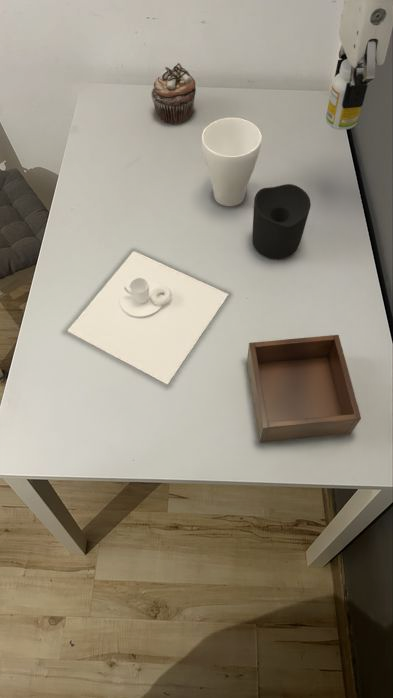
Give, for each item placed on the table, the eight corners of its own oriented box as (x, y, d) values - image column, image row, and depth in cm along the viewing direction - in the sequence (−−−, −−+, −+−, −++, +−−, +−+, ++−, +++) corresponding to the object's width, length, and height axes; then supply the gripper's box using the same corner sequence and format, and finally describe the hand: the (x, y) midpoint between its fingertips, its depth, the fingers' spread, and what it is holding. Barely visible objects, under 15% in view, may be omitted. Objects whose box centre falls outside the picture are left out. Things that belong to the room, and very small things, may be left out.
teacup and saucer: (177, 293, 87) (176, 279, 84) (152, 327, 84) (150, 314, 80) (136, 274, 89) (132, 259, 86) (110, 306, 86) (106, 292, 83)
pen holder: (288, 269, 89) (296, 230, 80) (241, 250, 92) (244, 210, 83) (309, 234, 93) (319, 193, 84) (263, 217, 96) (268, 175, 87)
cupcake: (177, 94, 115) (175, 50, 106) (204, 114, 111) (204, 70, 102) (144, 111, 112) (139, 67, 103) (171, 132, 108) (167, 89, 100)
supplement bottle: (362, 116, 86) (377, 60, 78) (349, 134, 84) (363, 78, 76) (333, 107, 88) (345, 51, 79) (320, 124, 86) (330, 68, 77)
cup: (264, 205, 97) (272, 147, 85) (215, 221, 95) (215, 163, 84) (242, 171, 102) (246, 111, 90) (194, 185, 100) (192, 126, 88)
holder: (330, 354, 80) (338, 334, 75) (350, 434, 74) (361, 418, 68) (246, 361, 80) (249, 342, 75) (259, 442, 74) (263, 428, 68)
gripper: (424, -4, 62) (383, 126, 78) (387, -65, 70) (357, 63, 86) (364, 2, 62) (335, 130, 78) (335, -60, 70) (314, 66, 86)
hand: (347, 93), depth 82 cm, fingers closed on supplement bottle, 5 cm apart
